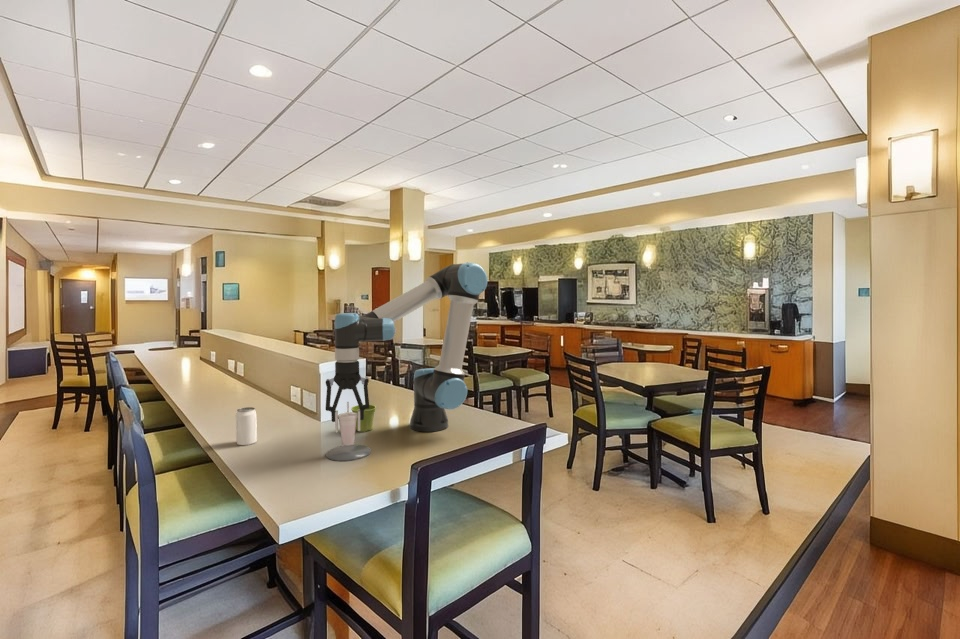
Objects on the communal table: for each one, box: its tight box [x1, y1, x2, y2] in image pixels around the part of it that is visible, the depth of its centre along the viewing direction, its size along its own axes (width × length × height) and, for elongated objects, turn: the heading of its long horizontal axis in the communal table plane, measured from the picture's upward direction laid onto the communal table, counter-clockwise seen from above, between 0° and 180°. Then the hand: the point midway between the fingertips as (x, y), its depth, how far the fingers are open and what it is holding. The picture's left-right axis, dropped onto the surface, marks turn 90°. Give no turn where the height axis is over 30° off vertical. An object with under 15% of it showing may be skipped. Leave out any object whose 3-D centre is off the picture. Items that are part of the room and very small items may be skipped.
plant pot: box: [350, 404, 377, 433], centre depth 178 cm, size 9×9×9 cm
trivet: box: [326, 444, 372, 462], centre depth 152 cm, size 14×14×1 cm
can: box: [235, 406, 258, 446], centre depth 162 cm, size 6×6×12 cm
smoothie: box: [338, 401, 358, 446], centre depth 151 cm, size 6×6×14 cm
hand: (348, 430), depth 152 cm, fingers closed on smoothie, 6 cm apart
